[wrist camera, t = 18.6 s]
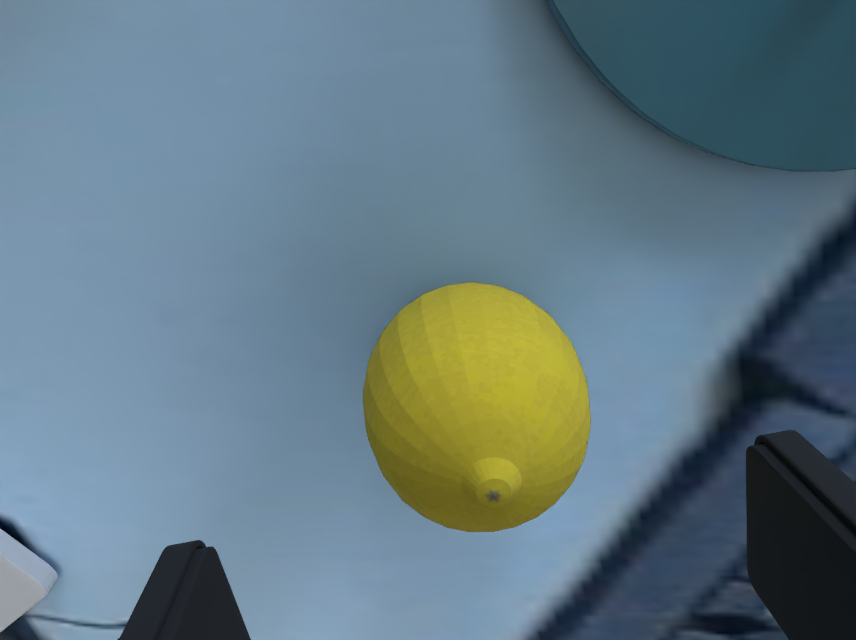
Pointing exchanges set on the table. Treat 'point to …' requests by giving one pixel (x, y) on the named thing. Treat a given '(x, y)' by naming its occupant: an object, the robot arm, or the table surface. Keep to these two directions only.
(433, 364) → the lemon
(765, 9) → the lid
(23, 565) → the smartphone
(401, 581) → the table surface
